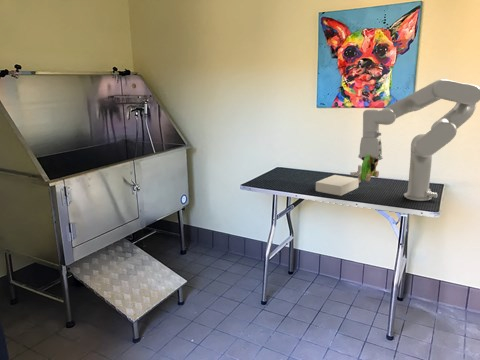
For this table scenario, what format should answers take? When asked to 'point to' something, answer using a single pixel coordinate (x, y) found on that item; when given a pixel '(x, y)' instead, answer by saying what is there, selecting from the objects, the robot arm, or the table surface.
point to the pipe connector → (357, 172)
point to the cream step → (337, 185)
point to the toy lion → (368, 169)
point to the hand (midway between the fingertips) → (369, 170)
